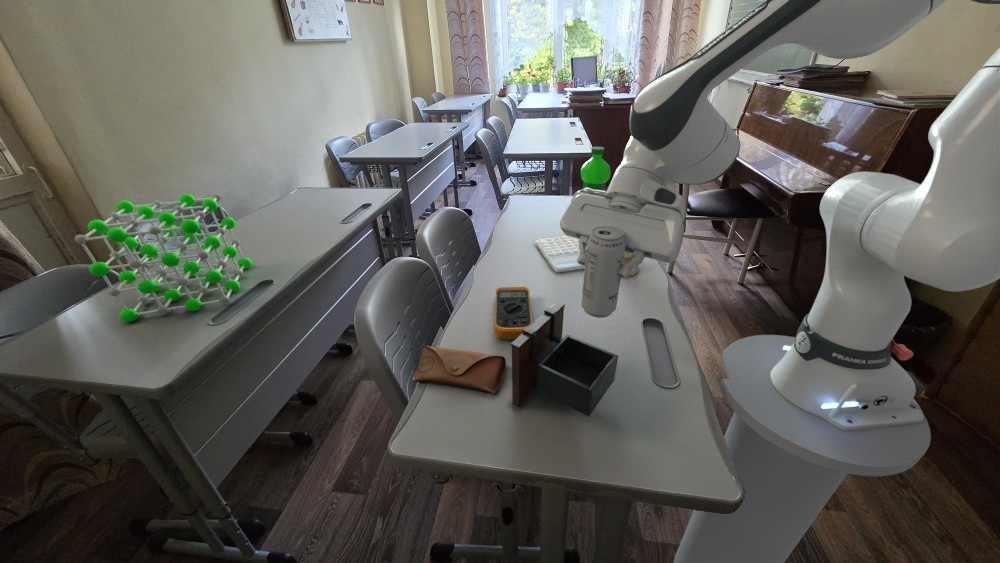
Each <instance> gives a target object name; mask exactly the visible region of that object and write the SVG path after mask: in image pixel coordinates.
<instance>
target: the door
mask: <svg viewBox="0 0 1000 563" xmlns="http://www.w3.org/2000/svg"><path fill="white" fill-rule="evenodd" d="M565 307H566V304H565V303H563V302H561V301H558V300H557V301H556V302H555V303H554V304H552V306H550V307H549V309H551V310H554V311H556V314H557V318H556V336H557V337H559V338H562V339H563V331H564V330H563V328H564V314H565ZM552 317H553V316H552V315H549V314H547V313H544V312H543V314H542V315H541V316H539V317H538V318H537V319H536V320H535V321H534V322H532V323H533V324H532V325H531V326H530V327H529V329H531V330H533V331H535V334H536V347H535V357H538V358H540V359H542V360H543V359H544V358H545V357H546V356H547V355H548V353H549V352H550V351H551V350H552V349H553V348H554V347H555V346H556V345H557V344H558V343H557V342H551V331H552ZM510 348H511V395H512V398H511V399H512V403H511V404H512V406H515V407H517V409H520V408H521V406H523V404H524V403H526V401H527V400H528V399H529V398H530V396H531V395H532V394H534V392H535V391H537V366H538V364H536V363H534V362H533V363H530V359H531V336H530V335H528V334H526V333H522V334H521V335H520V336H519V337H518V338H517V339H513V341H512V342H511V343H510Z"/></svg>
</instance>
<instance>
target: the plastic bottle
mask: <svg viewBox="0 0 1000 563" xmlns="http://www.w3.org/2000/svg"><path fill="white" fill-rule="evenodd" d="M590 151H591V152H590V153H591V155H592V157H591V158H590V159H588V160H587V161H586V162H584V163H583V164H582V166H581V168H580V178H581V180H582V181H583V185H582V186H583V187H582V190H583V189H584V188H591V189H593V190H601V191H606V183H607V182H608V181H609V180H610V178H611V175H612V174H611V173H612V171H611V167H610V164H608V162H607V161H606V160H604V158H603V155H604V154H605V147H603V146H592V147H591V150H590Z"/></svg>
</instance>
